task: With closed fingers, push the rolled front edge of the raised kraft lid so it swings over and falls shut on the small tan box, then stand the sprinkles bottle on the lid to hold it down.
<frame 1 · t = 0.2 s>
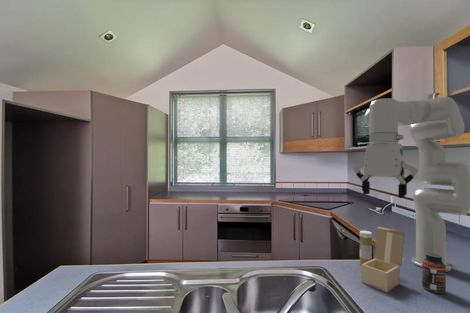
hand: (383, 195, 73), 31 cm above the countertop, tool pointing down, fingers open, 9 cm apart
sprinkles bottle: (365, 265, 97), on the countertop
supplement bottle: (433, 290, 78), on the countertop
box: (380, 283, 82), on the countertop
lid: (389, 245, 87), point 12 cm above the countertop, hinge at 103.9°
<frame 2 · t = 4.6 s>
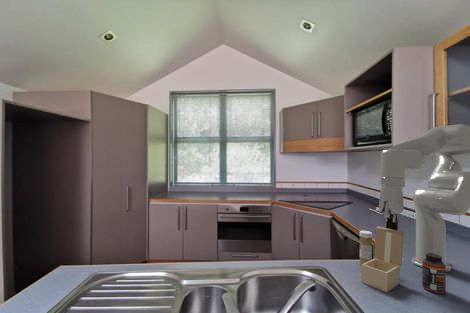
hand: (391, 232, 88), 16 cm above the countertop, tool pointing down, fingers closed
lid: (388, 245, 86), point 12 cm above the countertop, hinge at 99.5°, touching gripper
everything else where it was.
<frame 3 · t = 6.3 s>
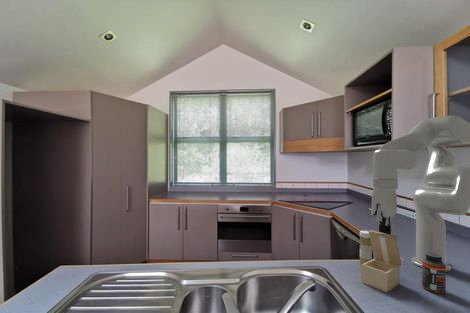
hand: (384, 236, 85), 15 cm above the countertop, tool pointing down, fingers closed
lid: (384, 247, 84), point 12 cm above the countertop, hinge at 66.7°, touching box, gripper
everything else where it was.
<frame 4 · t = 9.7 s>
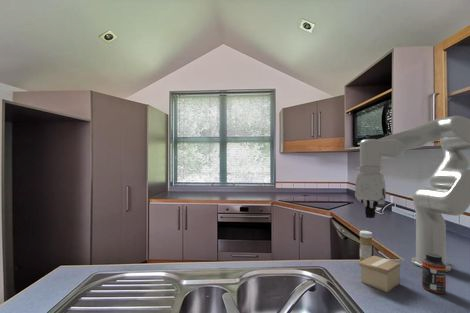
hand: (370, 217, 94), 20 cm above the countertop, tool pointing down, fingers closed
lid: (379, 264, 82), point 7 cm above the countertop, hinge at 0.4°, touching box
everything else where it was.
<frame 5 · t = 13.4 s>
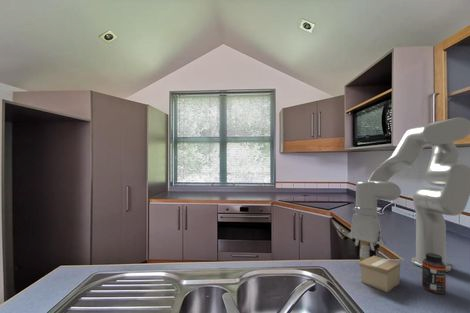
hand: (365, 257, 97), 3 cm above the countertop, tool pointing down, fingers closed on sprinkles bottle, 4 cm apart
sprinkles bottle: (365, 265, 97), on the countertop, touching gripper
everything else where it was.
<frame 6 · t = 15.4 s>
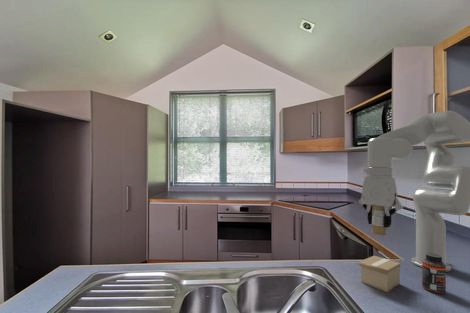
hand: (379, 224, 84), 20 cm above the countertop, tool pointing down, fingers closed on sprinkles bottle, 4 cm apart
sprinkles bottle: (378, 235, 84), point 16 cm above the countertop, touching gripper
everything else where it was.
when the fingers open (11 cm above the countertop, at t = 17.7 s): sprinkles bottle stays where it is, resting on lid.
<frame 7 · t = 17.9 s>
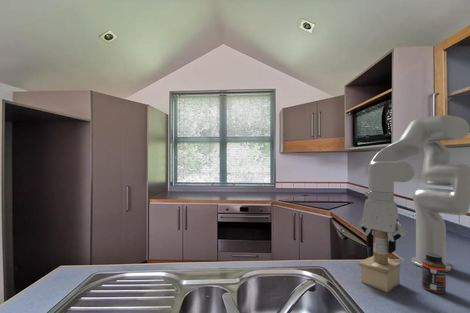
hand: (380, 248, 83), 12 cm above the countertop, tool pointing down, fingers open, 6 cm apart
sprinkles bottle: (380, 262, 82), point 7 cm above the countertop, touching lid
lid: (379, 264, 82), point 7 cm above the countertop, hinge at 0.3°, touching box, sprinkles bottle
everything else where it was.
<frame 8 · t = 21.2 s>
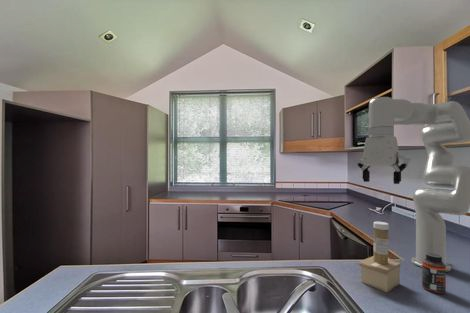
hand: (380, 182, 83), 34 cm above the countertop, tool pointing down, fingers open, 9 cm apart
nothing on the countertop moved.
at the end: lid at +0° (first picture: +103°); sprinkles bottle inside the target area on the box (0.1 cm from its centre), point 6.8 cm above the box's base; sprinkles bottle tilted 0° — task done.
